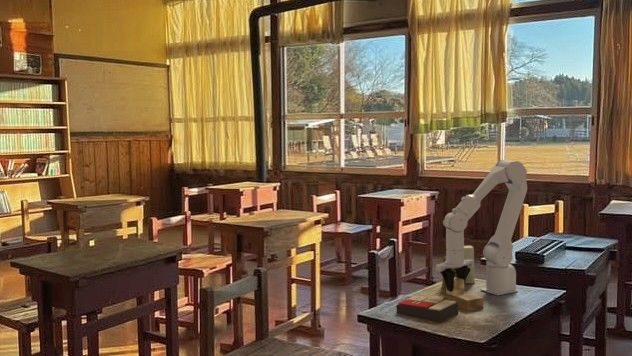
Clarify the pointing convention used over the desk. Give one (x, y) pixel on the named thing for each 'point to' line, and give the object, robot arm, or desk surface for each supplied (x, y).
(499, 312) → the desk surface
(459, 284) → the beech block
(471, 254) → the box
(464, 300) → the walnut base
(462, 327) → the desk surface
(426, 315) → the calculator
